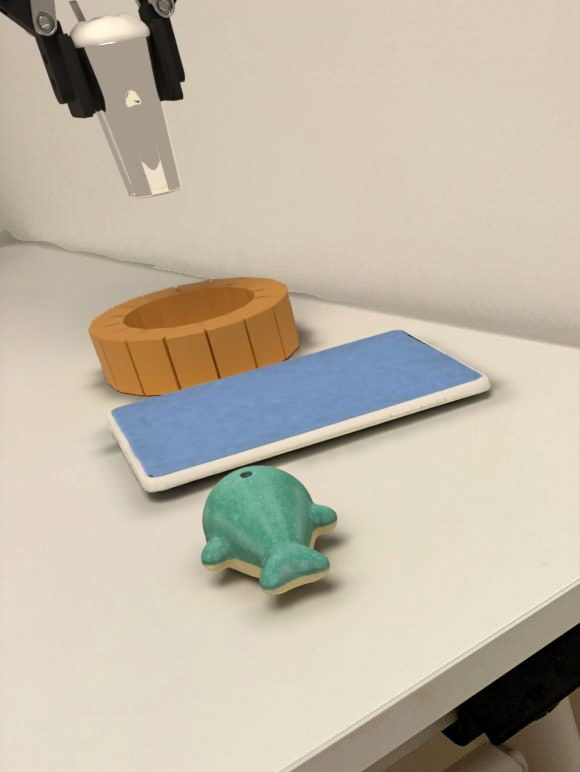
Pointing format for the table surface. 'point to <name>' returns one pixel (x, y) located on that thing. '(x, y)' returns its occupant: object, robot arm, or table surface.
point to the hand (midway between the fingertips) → (127, 104)
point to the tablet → (286, 407)
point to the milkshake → (128, 100)
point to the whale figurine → (265, 528)
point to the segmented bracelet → (194, 334)
